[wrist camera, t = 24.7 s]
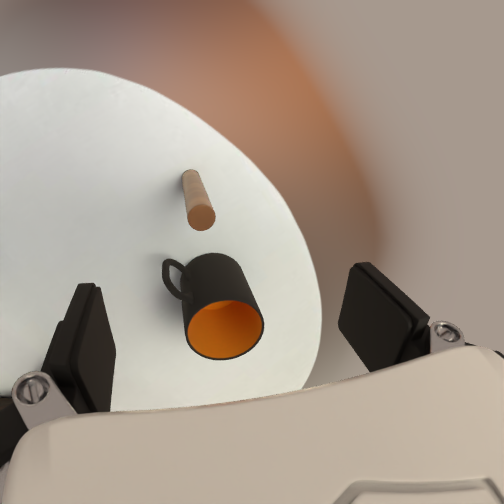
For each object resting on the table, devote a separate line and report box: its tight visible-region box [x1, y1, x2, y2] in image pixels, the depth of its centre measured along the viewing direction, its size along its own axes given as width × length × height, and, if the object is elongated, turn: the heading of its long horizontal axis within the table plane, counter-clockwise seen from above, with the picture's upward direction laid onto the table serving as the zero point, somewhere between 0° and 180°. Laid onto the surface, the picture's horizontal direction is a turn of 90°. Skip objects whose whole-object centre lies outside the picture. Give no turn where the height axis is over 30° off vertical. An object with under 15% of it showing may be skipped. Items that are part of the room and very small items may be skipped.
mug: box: [162, 253, 264, 360], centre depth 35 cm, size 8×12×10 cm
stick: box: [182, 170, 216, 231], centre depth 28 cm, size 2×2×14 cm
